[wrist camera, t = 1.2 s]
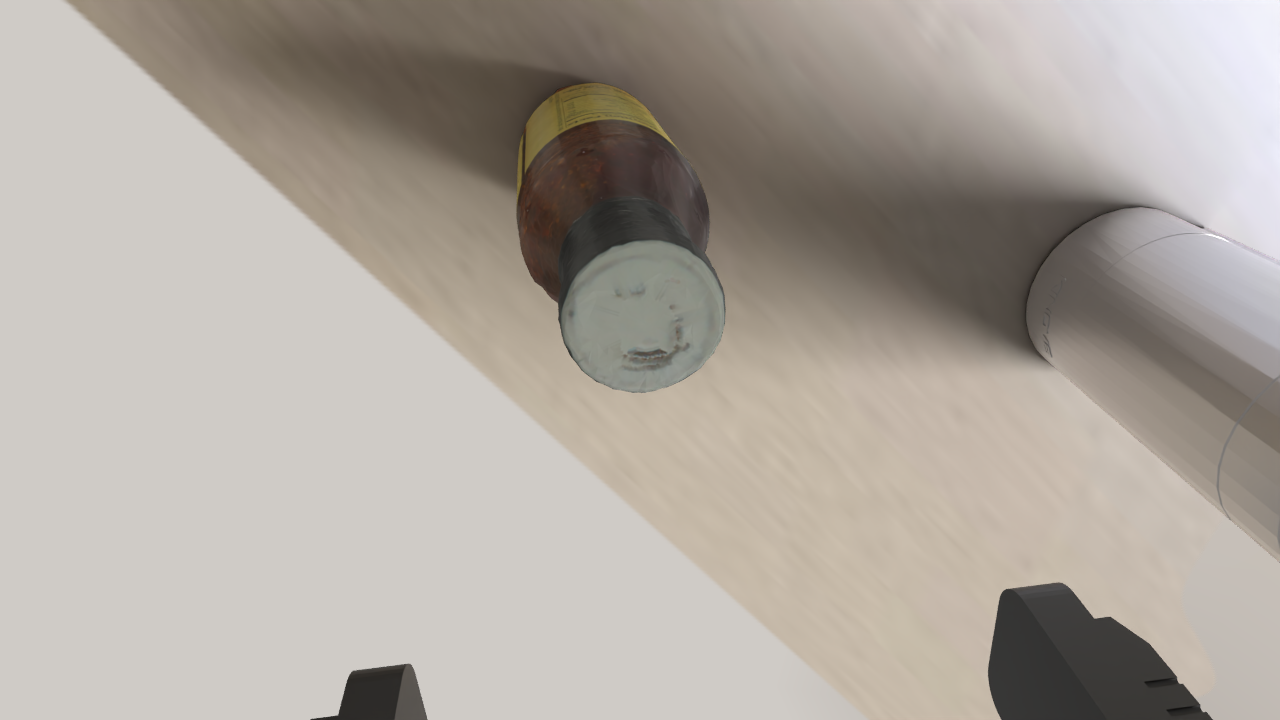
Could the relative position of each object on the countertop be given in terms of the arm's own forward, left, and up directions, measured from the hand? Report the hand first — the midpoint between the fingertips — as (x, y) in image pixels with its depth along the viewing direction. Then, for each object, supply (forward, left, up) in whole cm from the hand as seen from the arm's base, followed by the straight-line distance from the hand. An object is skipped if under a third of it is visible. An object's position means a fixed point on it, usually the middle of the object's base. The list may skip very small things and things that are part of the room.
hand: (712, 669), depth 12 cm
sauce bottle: (0, 0, -30) cm, 30 cm away
